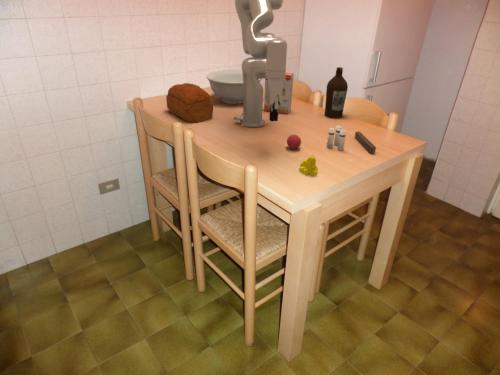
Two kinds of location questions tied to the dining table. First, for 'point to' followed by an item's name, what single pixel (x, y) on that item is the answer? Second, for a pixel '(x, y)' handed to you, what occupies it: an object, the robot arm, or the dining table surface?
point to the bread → (190, 102)
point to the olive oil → (336, 95)
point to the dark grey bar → (365, 142)
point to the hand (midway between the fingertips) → (273, 120)
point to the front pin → (330, 137)
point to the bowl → (227, 85)
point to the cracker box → (283, 95)
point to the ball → (293, 141)
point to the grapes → (309, 166)
